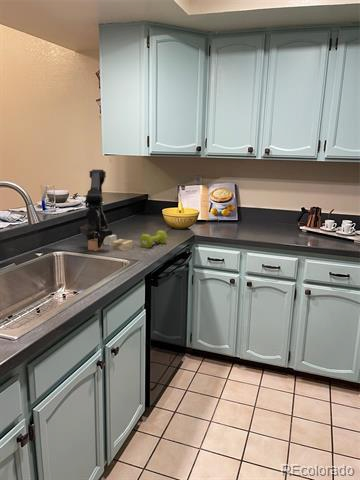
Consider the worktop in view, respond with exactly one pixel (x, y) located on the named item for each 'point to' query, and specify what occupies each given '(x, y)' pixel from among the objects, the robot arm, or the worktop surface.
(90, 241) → the terracotta cube
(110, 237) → the offwhite cube
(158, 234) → the dumbbell
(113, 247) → the oak base block
